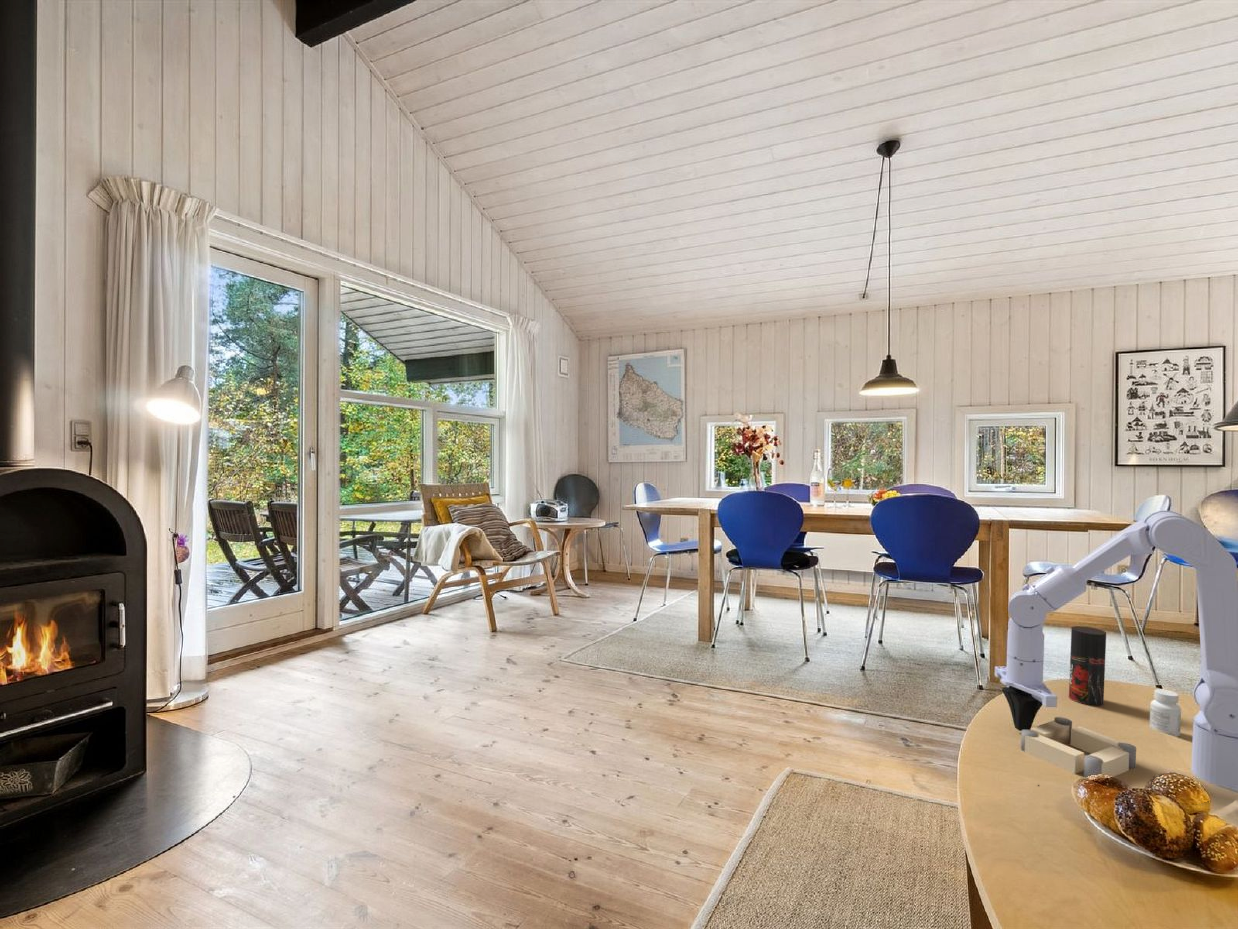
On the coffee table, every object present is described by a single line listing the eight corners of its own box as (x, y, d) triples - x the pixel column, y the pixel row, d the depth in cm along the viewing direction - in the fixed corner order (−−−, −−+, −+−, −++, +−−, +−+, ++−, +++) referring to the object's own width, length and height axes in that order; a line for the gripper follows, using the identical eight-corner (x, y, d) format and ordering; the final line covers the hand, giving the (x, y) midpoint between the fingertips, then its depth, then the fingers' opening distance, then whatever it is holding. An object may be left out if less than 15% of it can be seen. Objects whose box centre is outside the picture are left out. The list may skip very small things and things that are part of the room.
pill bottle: (1168, 728, 121) (1170, 688, 121) (1186, 738, 117) (1188, 697, 117) (1143, 726, 122) (1145, 687, 122) (1160, 737, 118) (1162, 696, 117)
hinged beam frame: (1141, 770, 105) (1142, 748, 105) (1097, 788, 100) (1098, 765, 100) (1058, 737, 117) (1059, 717, 117) (1015, 752, 111) (1015, 730, 111)
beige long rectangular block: (1058, 734, 117) (1059, 716, 117) (1074, 740, 115) (1075, 721, 114) (1029, 745, 113) (1030, 726, 112) (1044, 751, 110) (1045, 732, 110)
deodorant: (1110, 706, 131) (1113, 634, 131) (1081, 705, 131) (1084, 634, 131) (1090, 694, 137) (1092, 626, 137) (1062, 694, 137) (1064, 626, 137)
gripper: (980, 644, 124) (978, 712, 124) (1030, 671, 109) (1027, 748, 110) (1015, 644, 124) (1013, 712, 124) (1070, 671, 109) (1067, 748, 110)
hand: (1022, 729), depth 117 cm, fingers closed
